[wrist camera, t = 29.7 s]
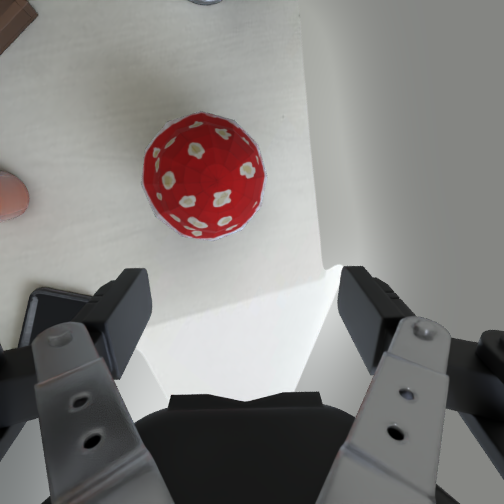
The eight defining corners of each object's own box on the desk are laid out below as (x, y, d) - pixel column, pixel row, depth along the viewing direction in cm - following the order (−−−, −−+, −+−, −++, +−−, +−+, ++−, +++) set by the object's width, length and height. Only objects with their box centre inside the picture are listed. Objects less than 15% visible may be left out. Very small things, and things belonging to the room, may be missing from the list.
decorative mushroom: (128, 203, 39) (107, 220, 25) (171, 102, 37) (174, 59, 23) (223, 243, 43) (250, 276, 29) (264, 155, 42) (313, 147, 28)
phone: (7, 391, 39) (31, 288, 37) (11, 385, 40) (34, 285, 38) (73, 397, 42) (99, 301, 39) (75, 391, 43) (100, 298, 40)
